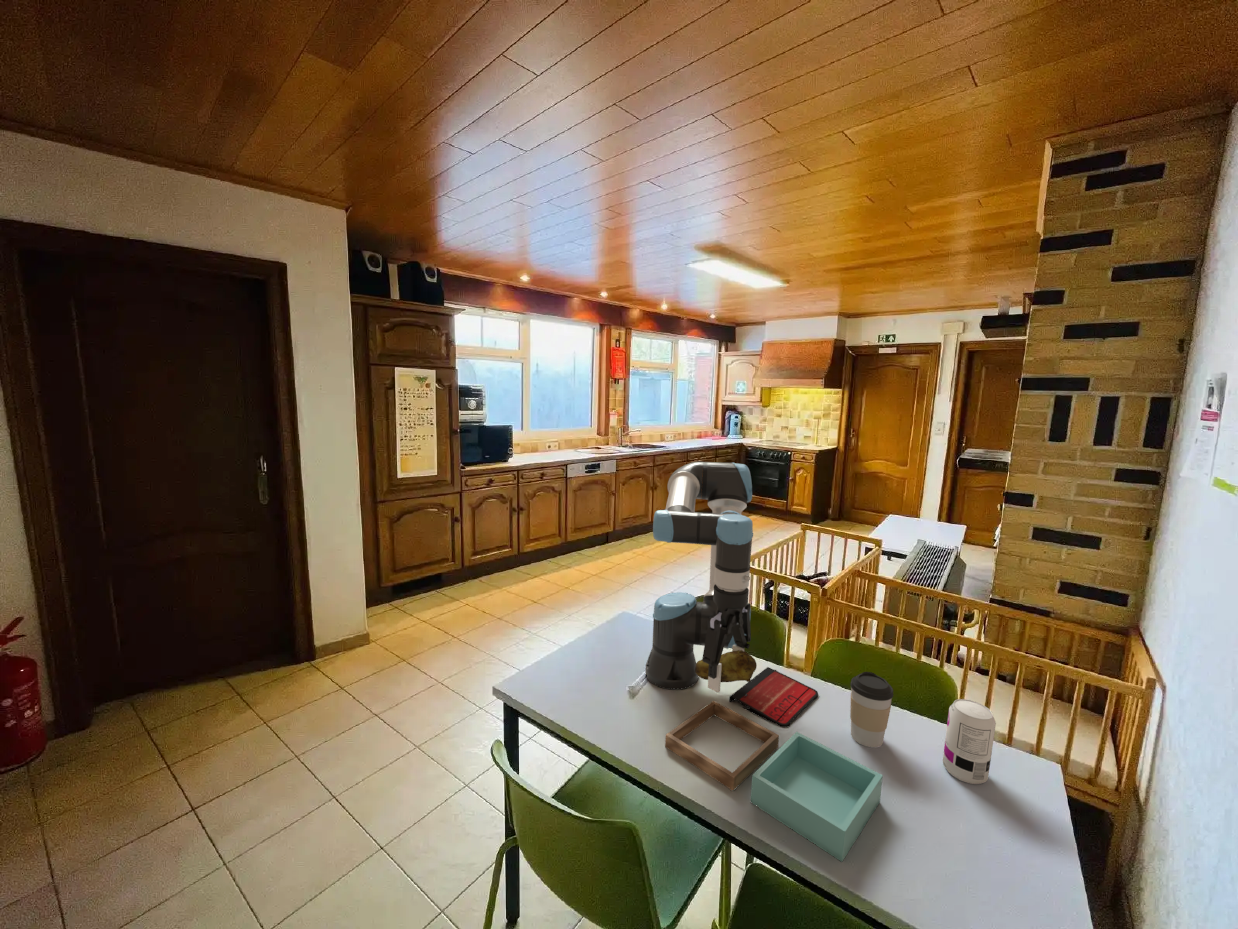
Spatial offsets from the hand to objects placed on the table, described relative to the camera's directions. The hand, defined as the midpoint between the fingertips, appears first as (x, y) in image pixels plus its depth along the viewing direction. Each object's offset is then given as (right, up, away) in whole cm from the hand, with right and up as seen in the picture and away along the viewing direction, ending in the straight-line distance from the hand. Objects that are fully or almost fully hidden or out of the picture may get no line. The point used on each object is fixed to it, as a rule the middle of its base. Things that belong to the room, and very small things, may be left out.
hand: (725, 681), depth 115 cm
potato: (0, -1, 0) cm, 1 cm away
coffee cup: (+35, -16, +6) cm, 39 cm away
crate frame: (0, -16, +2) cm, 16 cm away
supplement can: (+51, -18, -4) cm, 55 cm away
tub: (+15, -19, -13) cm, 27 cm away
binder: (+18, -14, +22) cm, 32 cm away
